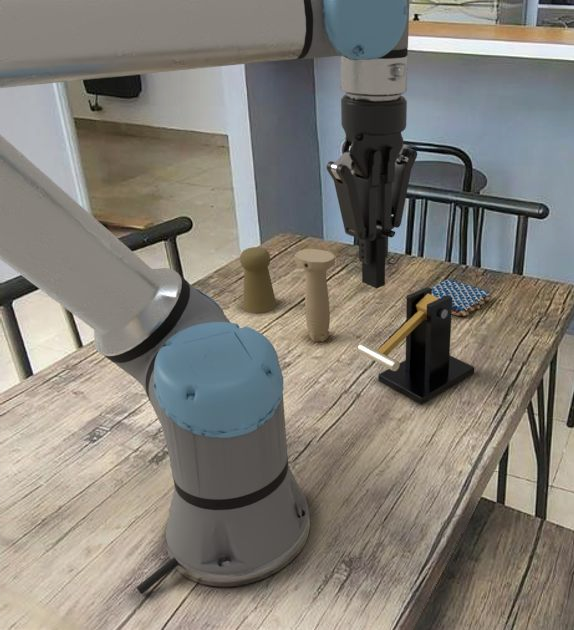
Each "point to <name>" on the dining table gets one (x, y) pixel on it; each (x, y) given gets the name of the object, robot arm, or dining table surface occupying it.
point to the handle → (316, 290)
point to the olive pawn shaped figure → (257, 281)
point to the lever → (397, 336)
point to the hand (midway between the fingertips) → (373, 283)
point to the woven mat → (461, 296)
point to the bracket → (427, 353)
